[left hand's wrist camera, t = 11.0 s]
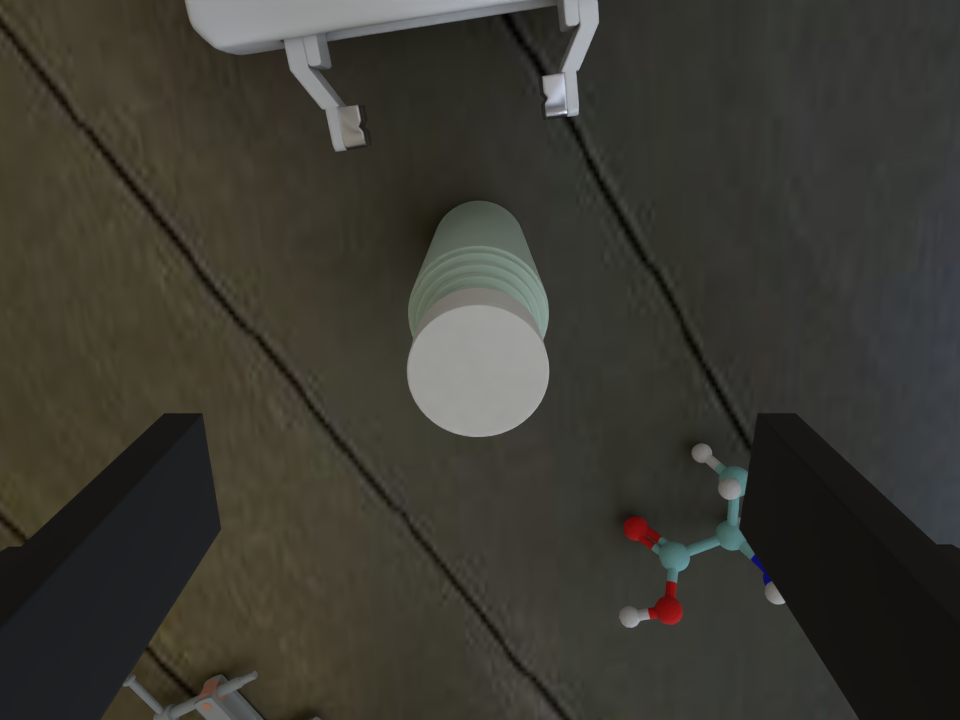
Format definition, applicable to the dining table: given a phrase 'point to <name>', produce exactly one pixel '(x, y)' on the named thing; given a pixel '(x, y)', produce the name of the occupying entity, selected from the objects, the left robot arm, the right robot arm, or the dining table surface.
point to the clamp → (206, 700)
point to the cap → (478, 363)
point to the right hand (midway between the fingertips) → (456, 133)
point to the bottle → (478, 261)
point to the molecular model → (695, 544)
